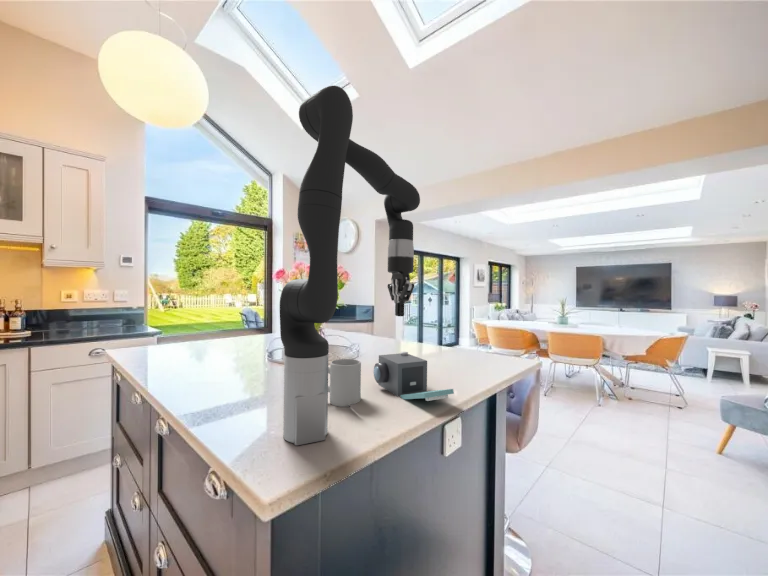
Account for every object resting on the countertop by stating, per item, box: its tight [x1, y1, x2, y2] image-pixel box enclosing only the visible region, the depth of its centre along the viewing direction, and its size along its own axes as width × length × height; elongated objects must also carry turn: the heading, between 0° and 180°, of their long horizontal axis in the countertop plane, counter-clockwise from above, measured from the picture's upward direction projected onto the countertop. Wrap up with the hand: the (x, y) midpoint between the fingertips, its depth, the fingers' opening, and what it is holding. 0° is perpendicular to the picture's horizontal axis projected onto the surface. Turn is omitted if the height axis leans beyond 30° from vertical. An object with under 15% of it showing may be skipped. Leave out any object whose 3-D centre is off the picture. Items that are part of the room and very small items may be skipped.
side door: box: [399, 388, 455, 402], centre depth 90 cm, size 2×9×13 cm
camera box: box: [373, 351, 428, 397], centre depth 102 cm, size 13×13×11 cm
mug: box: [328, 358, 362, 408], centre depth 92 cm, size 12×8×11 cm
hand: (399, 316), depth 96 cm, fingers closed
